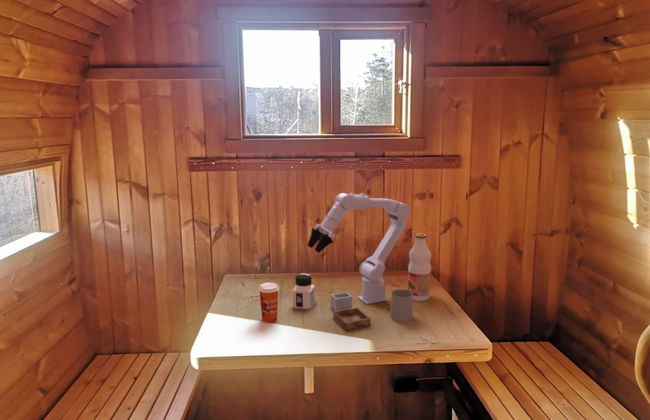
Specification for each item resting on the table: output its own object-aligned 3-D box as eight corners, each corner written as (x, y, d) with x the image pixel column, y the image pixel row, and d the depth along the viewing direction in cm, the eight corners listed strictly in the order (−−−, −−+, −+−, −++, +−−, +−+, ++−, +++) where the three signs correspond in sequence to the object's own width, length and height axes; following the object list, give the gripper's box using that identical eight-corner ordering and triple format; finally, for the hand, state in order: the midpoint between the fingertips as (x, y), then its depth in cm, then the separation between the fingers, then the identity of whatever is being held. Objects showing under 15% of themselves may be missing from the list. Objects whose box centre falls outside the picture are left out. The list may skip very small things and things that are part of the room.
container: (310, 309, 202) (310, 279, 199) (292, 308, 203) (291, 277, 200) (314, 302, 209) (314, 272, 206) (297, 300, 211) (296, 271, 208)
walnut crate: (356, 314, 197) (357, 307, 196) (370, 326, 187) (370, 318, 186) (333, 318, 193) (333, 311, 192) (345, 330, 183) (345, 323, 182)
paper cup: (263, 325, 187) (262, 290, 184) (256, 318, 194) (255, 284, 191) (283, 321, 191) (282, 287, 188) (275, 314, 198) (274, 280, 194)
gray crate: (346, 304, 207) (346, 291, 205) (351, 309, 202) (351, 296, 201) (331, 307, 204) (331, 294, 203) (336, 311, 199) (336, 299, 198)
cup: (414, 314, 197) (414, 290, 195) (410, 323, 189) (411, 298, 187) (392, 311, 200) (393, 288, 197) (388, 320, 192) (389, 295, 190)
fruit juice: (427, 303, 208) (430, 238, 202) (405, 300, 211) (407, 236, 205) (430, 294, 216) (433, 232, 210) (409, 292, 219) (411, 230, 213)
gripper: (317, 211, 200) (298, 239, 199) (332, 218, 187) (312, 248, 186) (330, 220, 203) (311, 248, 202) (345, 228, 190) (326, 257, 189)
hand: (313, 249), depth 194 cm, fingers open, 7 cm apart
